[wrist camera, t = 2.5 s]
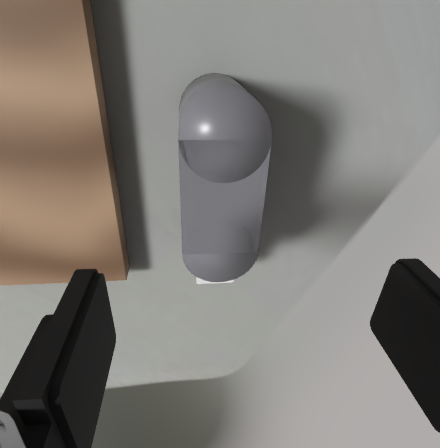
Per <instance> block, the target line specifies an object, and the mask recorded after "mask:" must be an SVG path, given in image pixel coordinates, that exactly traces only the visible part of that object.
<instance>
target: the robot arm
mask: <svg viewBox="0 0 440 448" xmlns="http://www.w3.org/2000/svg"><path fill="white" fill-rule="evenodd" d="M370 327H371V330H372V332H373V333H374V335H375V336H376V338H377V340H378V341H379V343H380V344H381V346H382V347H383V349H384V350H385V352H386V354H387V355H388V357H389V358H390V360H391V361H392V363H393V364H394V366H395V367H396V369H397V371H398V372H399V374H400V376H401V377H402V379H403V380H404V382H405V383H406V385H407V386H408V388H409V390H410V391H411V393H412V394H413V396H414V397H415V399H416V401H417V402H418V404H419V405H420V407H421V408H422V410H423V412H424V413H425V415H426V416H427V418H428V419H429V421H430V423H431V424H432V426H433V427H434V428H435V430H437V431H438V432H440V278H439V277H438V276H437V275H436V274H434V273H433V272H432V271H431V270H430V269H429V268H428V267H427V266H426V265H425V264H424V263H423V262H422V261H420V260H419V259H399V260H397V261H396V263H395V264H393V265H392V266H391V268H390V270H389V273H388V276H387V278H386V281H385V283H384V286H383V289H382V291H381V294H380V297H379V299H378V302H377V304H376V307H375V310H374V312H373V315H372V317H371V320H370ZM115 343H116V333H115V327H114V322H113V317H112V312H111V307H110V302H109V297H108V292H107V287H106V281H105V277H104V274H103V273H98V271H97V269H77V270H75V272H74V273H73V275H72V278H71V280H70V282H69V284H68V286H67V288H66V290H65V292H64V294H63V296H62V298H61V300H60V302H59V304H58V306H57V309H56V311H55V313H54V315H46V316H45V317H43V319H42V320H41V322H40V324H39V326H38V327H37V329H36V331H35V333H34V335H33V337H32V339H31V341H30V343H29V345H28V347H27V349H26V351H25V353H24V355H23V356H22V358H21V360H20V362H19V364H18V366H17V368H16V370H15V372H14V374H13V376H12V378H11V380H10V382H9V383H8V385H7V387H6V389H5V391H4V393H3V395H2V397H1V399H0V448H91V446H92V442H93V437H94V434H95V429H96V425H97V421H98V416H99V412H100V408H101V403H102V399H103V395H104V391H105V386H106V382H107V378H108V374H109V369H110V365H111V361H112V356H113V352H114V348H115Z"/></svg>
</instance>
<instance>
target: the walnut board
mask: <svg viewBox="0 0 440 448" xmlns="http://www.w3.org/2000/svg"><path fill="white" fill-rule="evenodd" d="M77 269H97V271H98V273H103V274H104V277H105V281H116V280H127V275H128V271H129V260H128V253H127V246H126V239H125V233H124V226H123V219H122V212H121V206H120V199H119V192H118V185H117V179H116V172H115V165H114V158H113V152H112V145H111V138H110V132H109V125H108V118H107V111H106V105H105V98H104V91H103V84H102V78H101V71H100V64H99V57H98V51H97V44H96V37H95V31H94V24H93V17H92V10H91V4H90V0H0V285H22V284H46V283H69V282H70V280H71V278H72V275H73V273H74V272H75V270H77Z"/></svg>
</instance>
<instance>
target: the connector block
mask: <svg viewBox="0 0 440 448" xmlns="http://www.w3.org/2000/svg"><path fill="white" fill-rule="evenodd" d="M271 143H272V127H271V122H270V119H269V116H268V114H267V112H266V110H265V109H264V108H263V106H262V105H261V104H260V103H259V102H258V101H257V100H256V99H255V98H254V97H253V96H252V95H251V94H250V93H248V92H247V91H246V90H245V89H244V88H243V87H242V86H241V85H240V84H239V83H238V82H236V81H235V80H234V79H232V78H231V77H229V76H226V75H223V74H218V73H210V74H205V75H203V76H200V77H198V78H196V79H195V80H194V81H192V82H191V83H190V84H189V85H188V87H187V88H186V89H185V91H184V93H183V95H182V97H181V101H180V107H179V168H180V196H181V225H182V253H183V260H184V263H185V265H186V267H187V269H188V270H189V271H190V272H191V273H192V274H193V275H195V276H196V280H197V284H206V283H228V282H234V279H236V278H238V277H240V276H242V275H243V274H245V273H246V272H247V271H248V270H249V269H250V268H251V267H252V266H253V265H254V263H255V261H256V259H257V256H258V251H259V242H260V234H261V226H262V218H263V209H264V201H265V193H266V185H267V176H268V168H269V160H270V152H271Z"/></svg>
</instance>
